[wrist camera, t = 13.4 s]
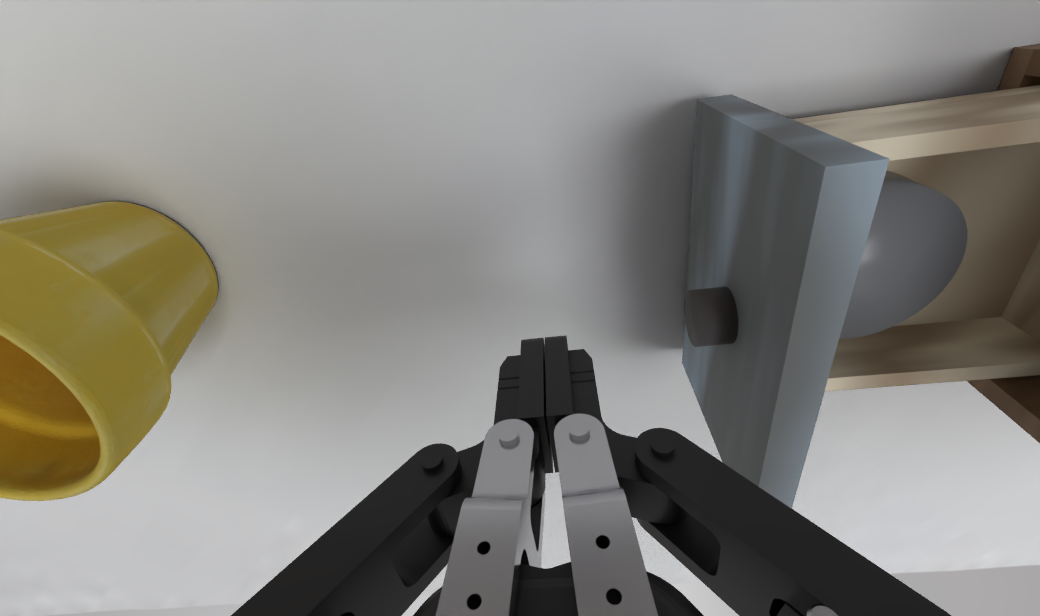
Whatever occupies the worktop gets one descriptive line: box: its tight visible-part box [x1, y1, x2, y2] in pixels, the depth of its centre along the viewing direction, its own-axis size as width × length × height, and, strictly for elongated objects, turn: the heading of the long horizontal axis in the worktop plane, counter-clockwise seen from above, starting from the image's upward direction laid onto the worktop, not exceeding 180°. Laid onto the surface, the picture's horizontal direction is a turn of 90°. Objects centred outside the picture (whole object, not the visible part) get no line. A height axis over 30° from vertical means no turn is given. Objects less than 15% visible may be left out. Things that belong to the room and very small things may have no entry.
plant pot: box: [0, 201, 218, 501], centre depth 19 cm, size 10×10×10 cm
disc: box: [839, 170, 967, 339], centre depth 18 cm, size 6×6×2 cm
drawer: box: [682, 85, 1040, 509], centre depth 16 cm, size 15×12×9 cm
